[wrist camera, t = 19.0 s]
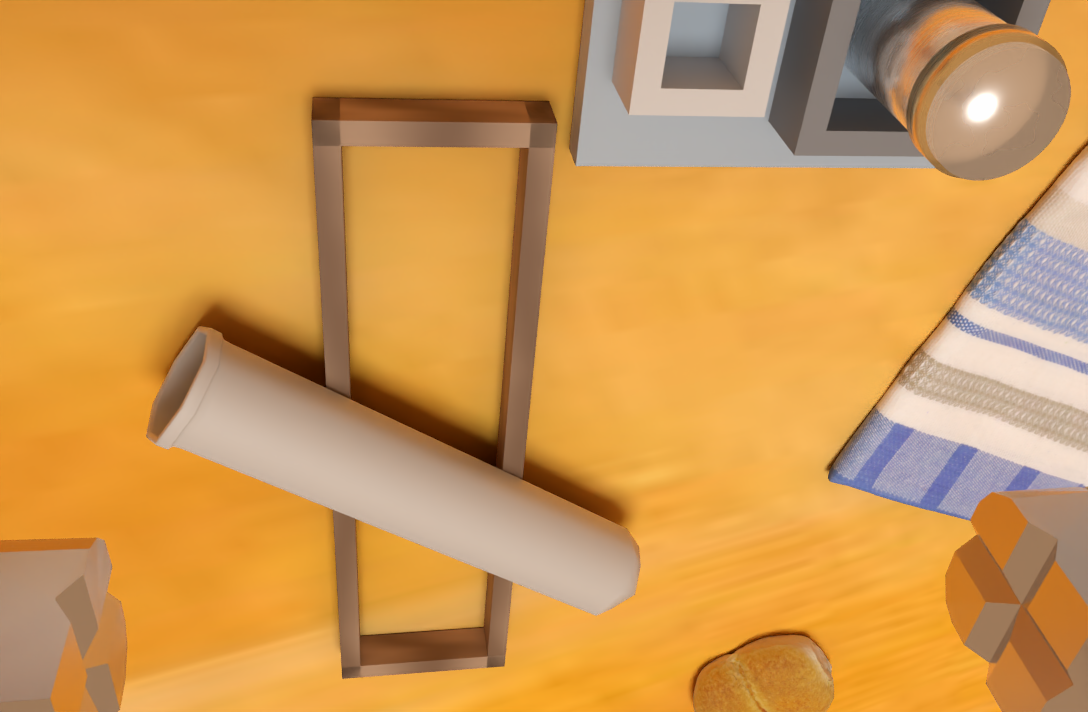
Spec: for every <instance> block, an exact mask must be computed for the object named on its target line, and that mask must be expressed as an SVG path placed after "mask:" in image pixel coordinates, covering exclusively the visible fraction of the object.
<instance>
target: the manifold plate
mask: <svg viewBox="0 0 1088 712" xmlns="http://www.w3.org/2000/svg"><path fill="white" fill-rule="evenodd" d="M975 1H976V2H978V3H979V4H981V5H982V6H983V7H985V8H986V9H988V10H989V11H990V12H992V13H993V14H995V15H996V16H998V17H999V18H1000V19H1002V20H1003V21H1005V22H1006V23H1008V24H1013V25H1018V26H1021V27H1024V28H1026V29H1028V30H1030V31H1031V32H1033V33H1034V34H1036V35H1038V32H1039V30H1040V27H1041V24H1042V22H1043V19H1044V16H1045V14H1046V11H1047V8H1048V6H1049V3H1050V0H975ZM860 3H861V0H585V6H584V16H583V25H582V34H581V44H580V53H579V62H578V72H577V81H576V90H575V100H574V109H573V119H572V128H571V137H570V147H569V149H570V152H571V155H572V157H573V160H574V163H575V165H576V166H669V167H829V168H935V167H934V166H933V165H932V164H931V163H930V162H929V161H928V160H927V159H926V158H925V157H924V156H923V155H922V154H921V153H920V152H919V151H918V149H917V148H916V147H915V146H914V144H913V143H912V141H911V138H910V136H909V133H908V130H907V129H906V128H905V127H904V126H903V125H902V124H901V123H900V122H899V121H898V120H897V119H896V118H895V117H894V116H893V115H892V114H891V113H890V112H889V111H888V110H887V109H886V108H885V107H884V106H883V105H882V103H881V102H880V101H879V100H878V99H877V98H876V97H875V96H874V95H873V94H872V93H871V92H870V91H869V90H868V89H867V88H866V87H865V86H864V85H863V84H862V83H861V82H860V81H859V80H858V79H857V78H856V77H855V76H854V75H853V74H852V73H851V72H850V71H849V70H848V69H847V68H846V67H845V66H844V63H845V59H846V55H847V51H848V48H849V44H850V40H851V36H852V33H853V29H854V25H855V21H856V18H857V14H858V10H859V6H860Z"/></svg>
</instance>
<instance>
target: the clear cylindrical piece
mask: <svg viewBox="0 0 1088 712" xmlns="http://www.w3.org/2000/svg"><path fill="white" fill-rule="evenodd" d="M844 66H845V67H846V68H847V69H848V70H849V71H850V72H851V73H852V74H853V75H854V76H855V77H856V78H857V79H858V80H859V81H860V82H861V83H862V84H863V85H864V86H865V87H866V88H867V89H868V90H869V91H870V92H871V93H872V94H873V95H874V96H875V97H876V98H877V99H878V100H879V101H880V102H881V103H882V105H883V106H884V107H885V108H886V109H887V110H888V111H889V112H890V113H891V114H892V115H893V116H894V117H895V118H896V119H897V120H898V121H899V122H900V123H901V124H902V125H903V126H904V127H905V128H906V129H907V130H908V133H909V136H910V138H911V141H912V143H913V144H914V146H915V147H916V148H917V149H918V151H919V152H920V153H921V154H922V155H923V156H924V157H925V158H926V159H927V160H928V161H929V162H930V163H931V164H932V165H933V166H934V167H935V168H936V169H938V170H939V171H941V172H943V173H945V174H947V175H949V176H953V177H956V178H964V179H968V180H989V179H994V178H998V177H1001V176H1004V175H1007V174H1009V173H1011V172H1013V171H1016V170H1018V169H1019V168H1021V167H1023V166H1024V165H1026V164H1027V163H1029V162H1030V161H1031V160H1033V159H1034V158H1035V157H1036V156H1037V155H1039V154H1040V153H1041V152H1042V151H1043V150H1044V149H1045V148H1046V147H1047V146H1048V144H1049V143H1050V142H1051V141H1052V139H1053V138H1054V137H1055V135H1056V134H1057V132H1058V131H1059V129H1060V127H1061V125H1062V123H1063V122H1064V119H1065V117H1066V114H1067V111H1068V107H1069V103H1070V96H1071V87H1070V80H1069V77H1068V74H1067V69H1066V66H1065V63H1064V61H1063V59H1062V57H1061V55H1060V54H1059V53H1058V52H1057V50H1056V49H1055V48H1054V47H1052V46H1051V45H1050V44H1049V43H1047V42H1046V41H1044V40H1043V39H1042V38H1040V37H1039V36H1037V35H1036V34H1034V33H1033V32H1031V31H1030V30H1028V29H1026V28H1024V27H1021V26H1018V25H1013V24H1008V23H1006V22H1005V21H1003V20H1002V19H1000V18H999V17H998V16H996V15H995V14H993V13H992V12H990V11H989V10H988V9H986V8H985V7H983V6H982V5H981V4H979V3H978V2H976V1H975V0H861V3H860V6H859V10H858V14H857V18H856V21H855V25H854V29H853V33H852V36H851V40H850V44H849V48H848V51H847V55H846V59H845V63H844Z"/></svg>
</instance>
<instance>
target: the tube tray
mask: <svg viewBox="0 0 1088 712" xmlns="http://www.w3.org/2000/svg"><path fill="white" fill-rule="evenodd" d="M556 132H557V121H556V119H555V116H554V113H553V111H552V108H551V105H550V103H549V101H490V100H431V99H373V98H314V97H313V103H312V138H313V156H314V175H315V193H316V211H317V229H318V247H319V265H320V283H321V301H322V319H323V337H324V356H325V374H326V388H327V389H329V390H331V391H334V392H336V393H338V394H340V395H342V396H344V397H346V398H348V399H351V381H350V354H349V327H348V300H347V273H346V246H345V219H344V192H343V165H342V146H393V147H501V148H520V157H519V170H518V184H517V197H516V210H515V223H514V236H513V250H512V263H511V276H510V289H509V302H508V316H507V329H506V342H505V355H504V368H503V382H502V395H501V408H500V421H499V434H498V448H497V461H496V468H498V469H500V470H503V471H505V472H507V473H509V474H511V475H513V476H515V477H518V478H520V479H522V480H523V470H524V460H525V449H526V439H527V429H528V419H529V408H530V398H531V388H532V378H533V368H534V357H535V347H536V337H537V327H538V316H539V306H540V296H541V286H542V276H543V265H544V255H545V245H546V235H547V224H548V214H549V204H550V194H551V184H552V173H553V163H554V153H555V143H556ZM333 518H334V537H335V555H336V573H337V591H338V609H339V627H340V645H341V663H342V679H344V678H357V677H370V676H383V675H396V674H409V673H422V672H435V671H448V670H462V669H475V668H488V667H501V666H504V664H505V654H506V644H507V633H508V623H509V613H510V603H511V593H512V582H511V581H509V580H506V579H504V578H501V577H499V576H496V575H494V574H491V573H489V572H488V579H487V593H486V606H485V619H484V628H470V629H456V630H442V631H427V632H413V633H399V634H385V635H370V636H360V624H359V597H358V570H357V543H356V519H355V518H352V517H350V516H348V515H345V514H343V513H340V512H338V511H335V510H333Z"/></svg>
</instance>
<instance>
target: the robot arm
mask: <svg viewBox="0 0 1088 712" xmlns="http://www.w3.org/2000/svg"><path fill="white" fill-rule="evenodd" d="M970 521H971V523H972V525H973V527H974V529H975V532H976V534H977V535H976V536H974V537H973V538H972V539H971V540H969V541H968V542H967V543H965V544H964V545H963V546H962V547H960V548H959V549H958V550H956V551H955V553H954V556H953V558H952V560H951V563H950V565H949V568H948V570H947V573H946V575H945V577H946V604H947V607H948V610H949V614H950V617H951V621H952V623H953V625H954V627H955V629H956V631H957V633H958V634H959V636H960V638H961V640H962V642H963V644H964V645H965V646H967V647H968V648H970V649H971V650H972V651H974V652H975V653H977V654H978V655H979V656H981V657H982V658H984V659H985V660H986V661H988V662H989V668H988V674H987V680H986V684H987V686H988V688H989V689H990V691H991V693H992V695H993V696H994V698H995V700H996V702H997V703H998V705H999V707H1000V709H1001V710H1002V712H1088V487H1084V488H1082V487H1065V488H1049V489H1032V490H1016V491H1000V492H991V493H990V494H989V495H987V496H986V497H985V498H983V499H982V500H981V501H979V503H978V505H977V507H976V509H975V511H974V513H973V515H972V517H971V519H970ZM111 570H112V564H111V561H110V558H109V554H108V551H107V547H106V544H105V540H102V539H99V538H70V539H32V540H0V712H118V711H119V710H120V706H121V701H122V695H123V689H124V684H125V676H126V658H127V637H126V625H125V618H124V614H123V609H122V605H121V601H119V600H118V599H116V598H115V597H114V596H112V595H111V594H109V593H108V592H107V588H108V584H109V579H110V574H111Z"/></svg>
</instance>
